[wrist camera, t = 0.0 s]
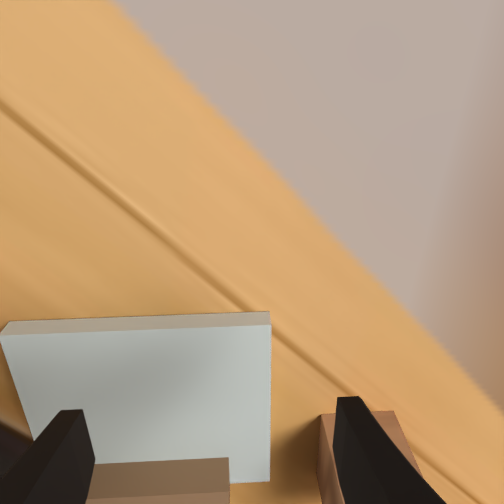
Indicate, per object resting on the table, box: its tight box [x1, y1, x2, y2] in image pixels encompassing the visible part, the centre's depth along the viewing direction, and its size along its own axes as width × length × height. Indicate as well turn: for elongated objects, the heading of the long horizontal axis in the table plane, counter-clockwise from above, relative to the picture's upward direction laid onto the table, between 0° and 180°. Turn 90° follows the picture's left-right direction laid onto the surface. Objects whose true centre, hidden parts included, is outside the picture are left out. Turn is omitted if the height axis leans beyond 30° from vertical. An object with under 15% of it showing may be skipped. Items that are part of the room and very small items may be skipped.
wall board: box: [0, 311, 271, 504], centre depth 24 cm, size 12×14×3 cm
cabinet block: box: [316, 411, 423, 504], centre depth 25 cm, size 6×4×6 cm
